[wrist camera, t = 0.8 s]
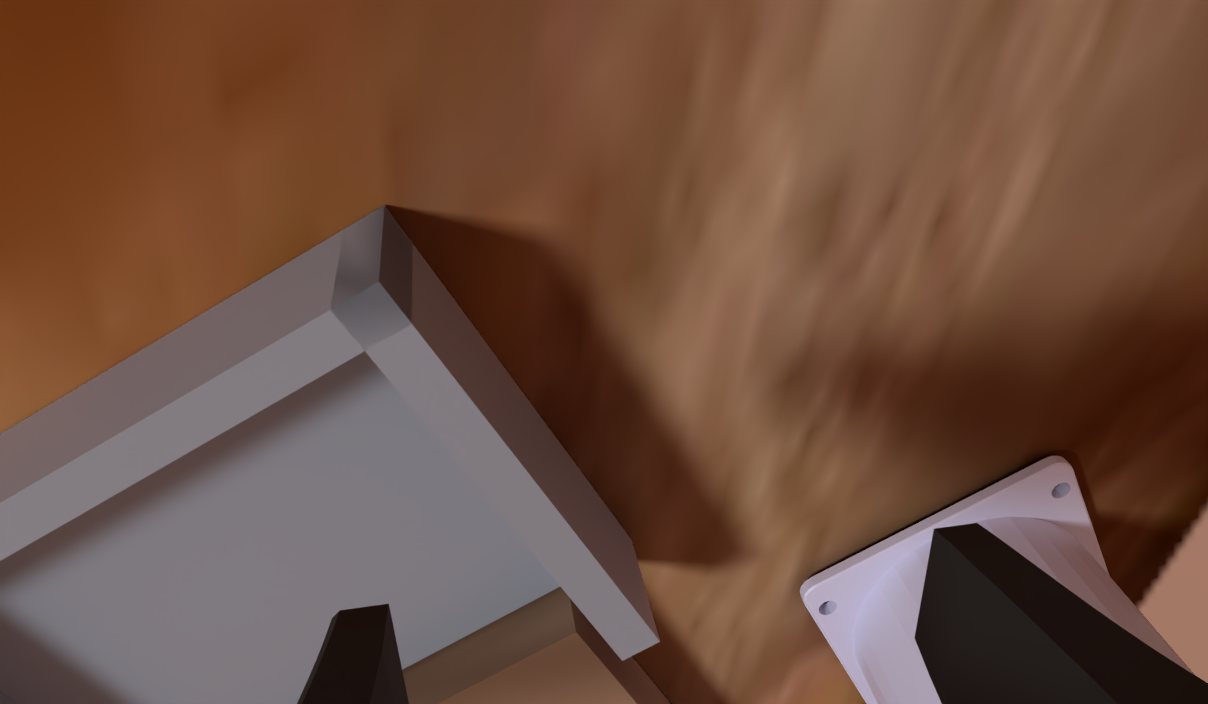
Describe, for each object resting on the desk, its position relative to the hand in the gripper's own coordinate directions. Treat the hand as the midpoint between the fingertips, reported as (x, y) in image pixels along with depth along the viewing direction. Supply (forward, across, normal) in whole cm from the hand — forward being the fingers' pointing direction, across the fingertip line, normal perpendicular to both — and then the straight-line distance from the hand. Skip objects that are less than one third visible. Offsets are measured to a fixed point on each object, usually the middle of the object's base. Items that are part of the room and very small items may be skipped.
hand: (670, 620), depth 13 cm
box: (+10, +8, +7) cm, 15 cm away
